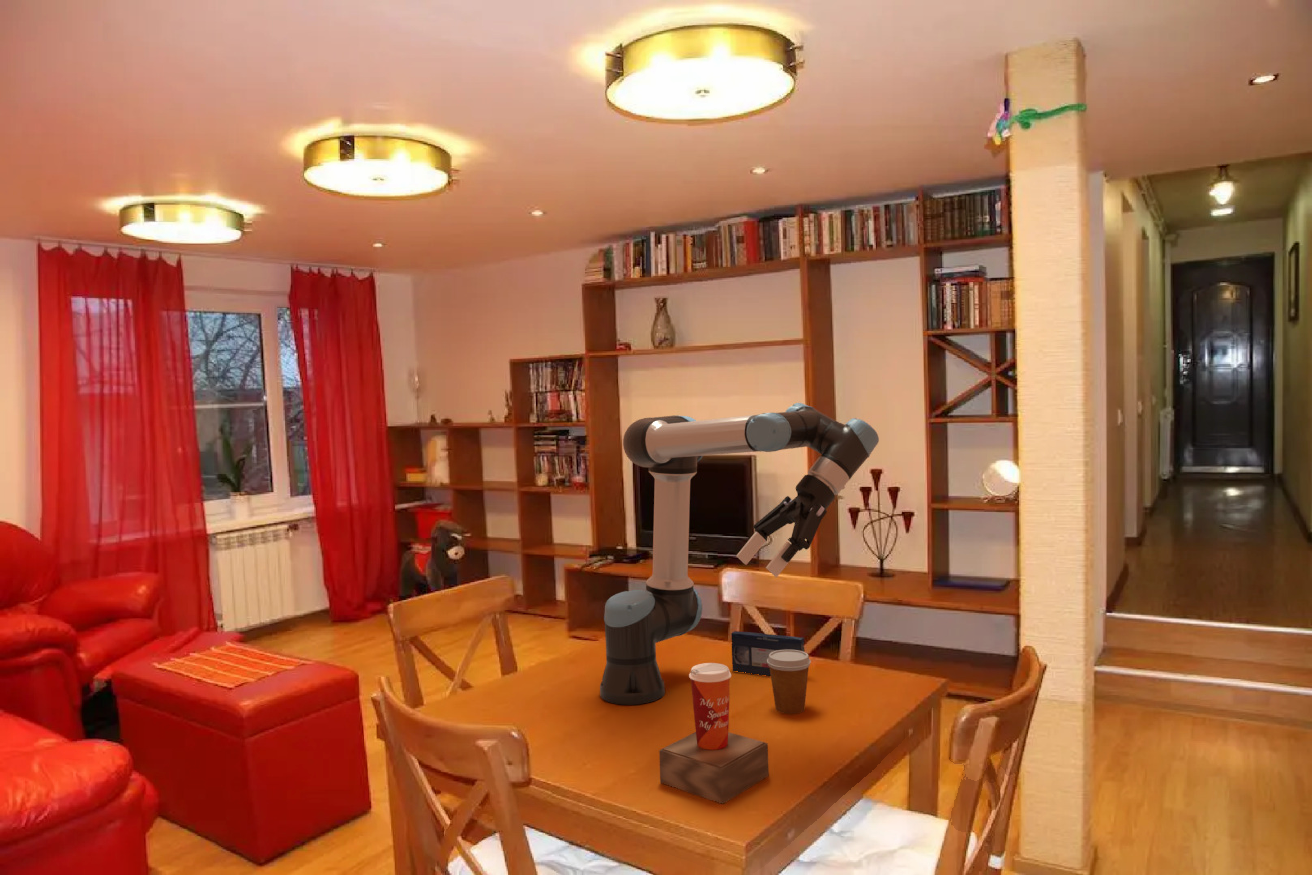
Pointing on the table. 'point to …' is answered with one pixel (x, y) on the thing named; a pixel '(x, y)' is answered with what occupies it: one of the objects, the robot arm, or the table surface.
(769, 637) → the vhs cassette tape
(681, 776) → the walnut box
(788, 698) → the disposable coffee cup
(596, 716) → the table surface
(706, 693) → the paper cup
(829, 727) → the table surface
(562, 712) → the table surface
